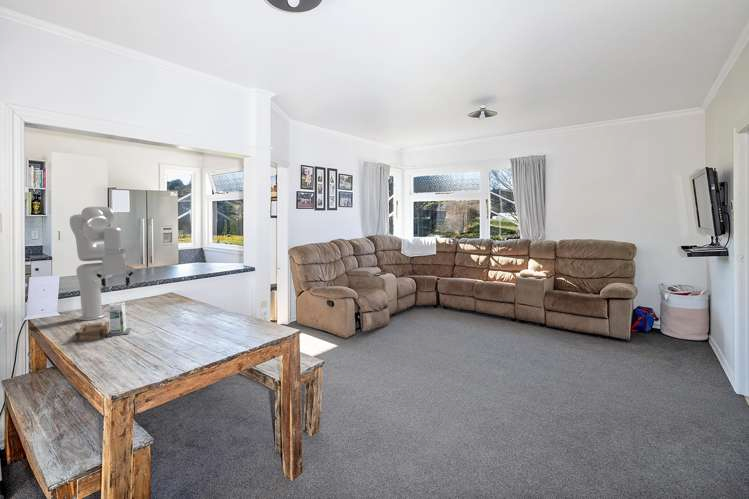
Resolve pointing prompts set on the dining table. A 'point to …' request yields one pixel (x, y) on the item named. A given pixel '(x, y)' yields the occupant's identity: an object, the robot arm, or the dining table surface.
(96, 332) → the rack
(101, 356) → the dining table surface
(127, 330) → the mat
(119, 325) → the syrup box
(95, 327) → the offcut upper
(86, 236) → the robot arm
